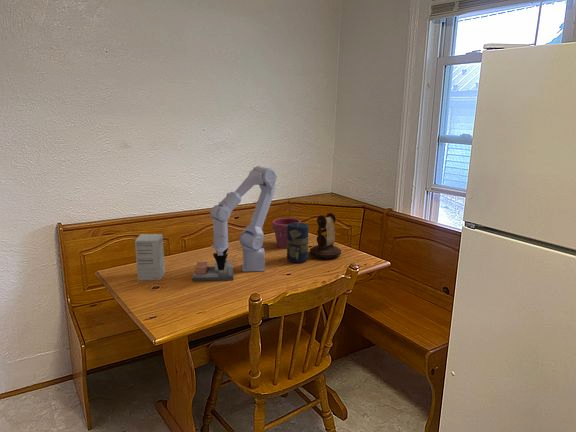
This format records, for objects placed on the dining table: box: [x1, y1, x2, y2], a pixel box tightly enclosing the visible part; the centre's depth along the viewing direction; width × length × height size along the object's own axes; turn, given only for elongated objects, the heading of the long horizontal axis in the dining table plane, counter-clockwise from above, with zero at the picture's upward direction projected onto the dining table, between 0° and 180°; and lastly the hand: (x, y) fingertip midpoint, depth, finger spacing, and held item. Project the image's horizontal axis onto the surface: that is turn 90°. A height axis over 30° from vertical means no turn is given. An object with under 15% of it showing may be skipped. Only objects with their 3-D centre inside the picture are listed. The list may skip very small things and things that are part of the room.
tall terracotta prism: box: [194, 261, 208, 274], centre depth 183 cm, size 4×7×4 cm, turn 5°
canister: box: [286, 222, 309, 263], centre depth 202 cm, size 10×10×18 cm
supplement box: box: [134, 233, 166, 281], centre depth 182 cm, size 10×9×17 cm
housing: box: [214, 258, 229, 275], centre depth 184 cm, size 5×4×6 cm
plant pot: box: [271, 217, 302, 249], centre depth 224 cm, size 14×14×13 cm
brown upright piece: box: [309, 212, 342, 261], centre depth 209 cm, size 15×15×20 cm
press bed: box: [192, 259, 235, 282], centre depth 184 cm, size 16×10×6 cm, turn 95°
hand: (221, 266), depth 184 cm, fingers open, 7 cm apart
